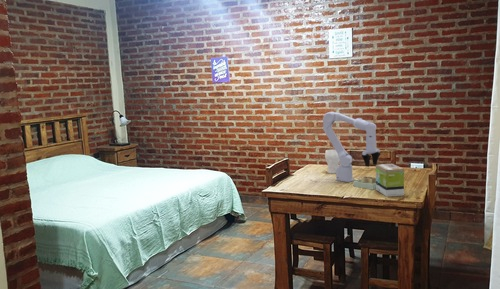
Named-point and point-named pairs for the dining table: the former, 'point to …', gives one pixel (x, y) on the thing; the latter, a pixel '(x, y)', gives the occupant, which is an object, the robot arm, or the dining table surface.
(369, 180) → the pine crate
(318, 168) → the dining table surface
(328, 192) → the dining table surface
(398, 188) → the tea box
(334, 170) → the beige flared cylinder
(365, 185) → the tray
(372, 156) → the robot arm
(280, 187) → the dining table surface
